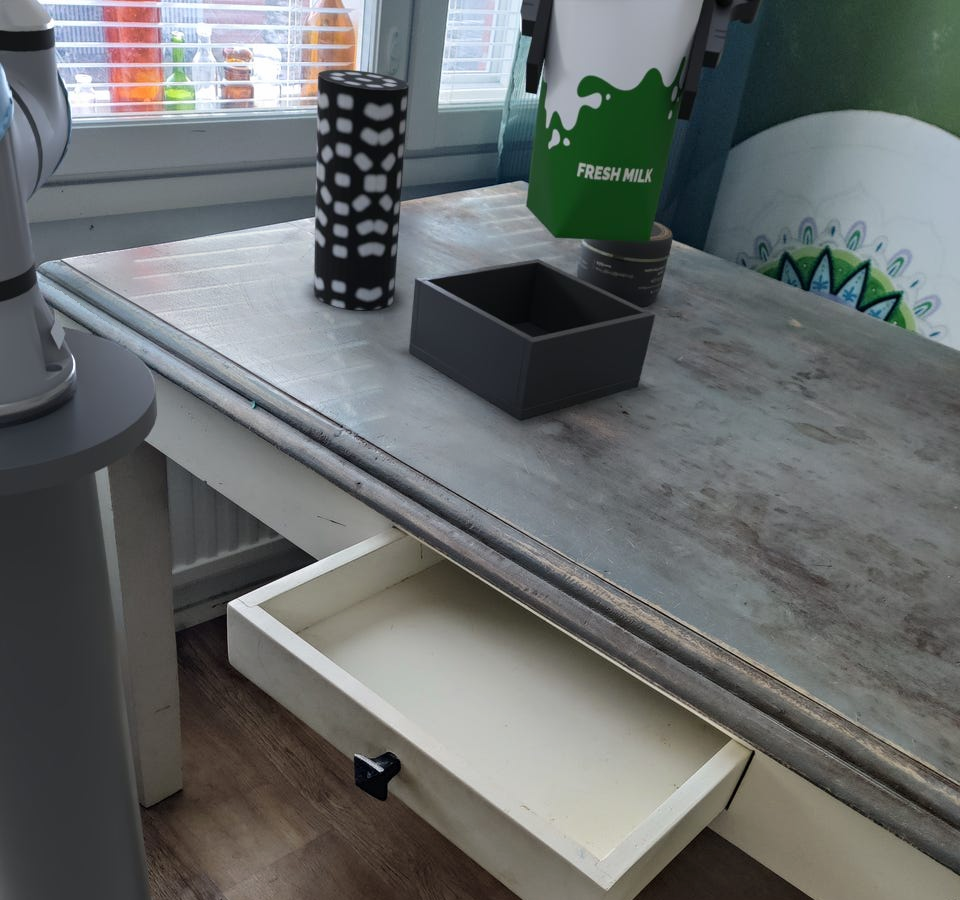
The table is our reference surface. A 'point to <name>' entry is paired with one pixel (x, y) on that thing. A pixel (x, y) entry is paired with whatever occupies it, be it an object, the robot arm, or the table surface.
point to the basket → (528, 335)
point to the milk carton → (608, 114)
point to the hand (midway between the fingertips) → (609, 92)
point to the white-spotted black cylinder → (358, 187)
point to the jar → (627, 265)
